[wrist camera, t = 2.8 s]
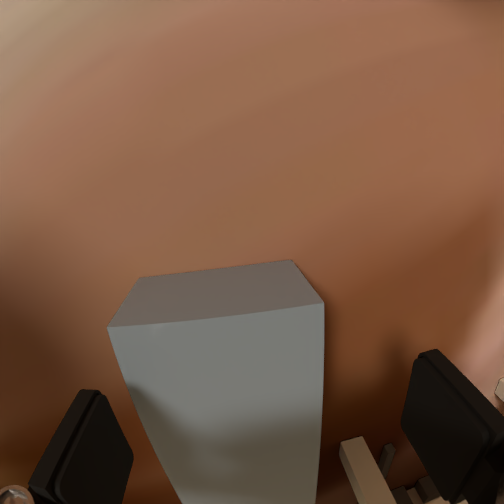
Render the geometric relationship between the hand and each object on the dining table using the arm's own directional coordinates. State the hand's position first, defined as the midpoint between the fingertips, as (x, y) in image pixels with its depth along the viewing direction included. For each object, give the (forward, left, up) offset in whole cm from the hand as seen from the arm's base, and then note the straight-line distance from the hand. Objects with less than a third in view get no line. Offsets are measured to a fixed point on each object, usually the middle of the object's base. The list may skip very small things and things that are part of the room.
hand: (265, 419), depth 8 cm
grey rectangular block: (+9, -1, -6) cm, 11 cm away
